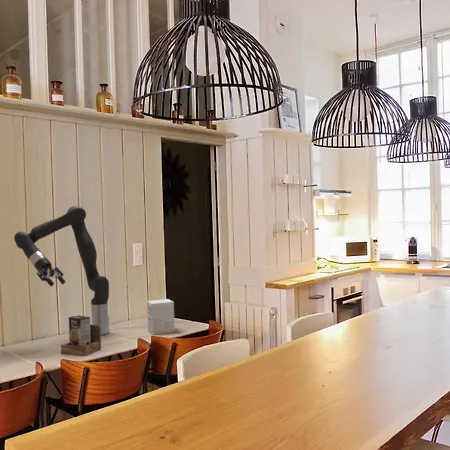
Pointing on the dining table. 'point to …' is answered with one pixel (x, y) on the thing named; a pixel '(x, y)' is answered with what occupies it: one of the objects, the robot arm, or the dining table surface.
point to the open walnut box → (84, 350)
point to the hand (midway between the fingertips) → (58, 284)
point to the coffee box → (79, 330)
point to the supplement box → (160, 316)
